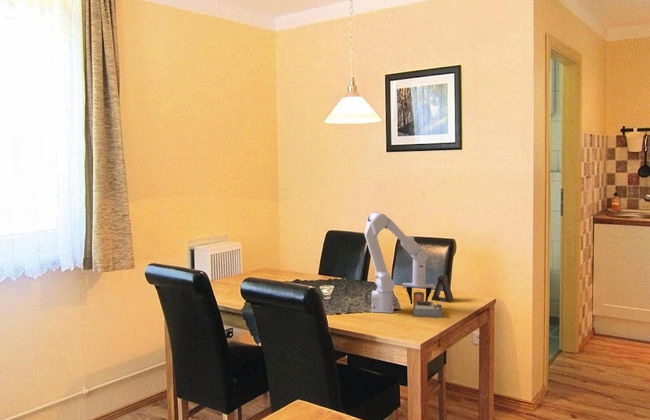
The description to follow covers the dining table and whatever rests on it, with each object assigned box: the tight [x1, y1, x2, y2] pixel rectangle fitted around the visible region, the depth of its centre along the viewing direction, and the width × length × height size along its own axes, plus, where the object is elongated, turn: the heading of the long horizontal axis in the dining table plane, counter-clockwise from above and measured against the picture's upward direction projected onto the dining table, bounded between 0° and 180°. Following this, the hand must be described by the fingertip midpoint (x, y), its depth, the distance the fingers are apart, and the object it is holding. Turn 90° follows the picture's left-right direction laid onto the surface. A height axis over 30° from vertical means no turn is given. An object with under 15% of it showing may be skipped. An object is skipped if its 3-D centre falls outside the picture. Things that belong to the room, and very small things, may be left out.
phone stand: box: [431, 273, 454, 303], centre depth 268 cm, size 9×6×12 cm, turn 60°
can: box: [413, 291, 425, 305], centre depth 254 cm, size 5×5×7 cm
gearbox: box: [413, 300, 443, 318], centre depth 245 cm, size 12×9×4 cm
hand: (418, 303), depth 254 cm, fingers open, 6 cm apart
